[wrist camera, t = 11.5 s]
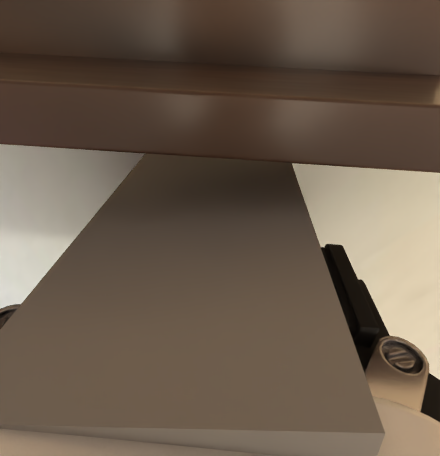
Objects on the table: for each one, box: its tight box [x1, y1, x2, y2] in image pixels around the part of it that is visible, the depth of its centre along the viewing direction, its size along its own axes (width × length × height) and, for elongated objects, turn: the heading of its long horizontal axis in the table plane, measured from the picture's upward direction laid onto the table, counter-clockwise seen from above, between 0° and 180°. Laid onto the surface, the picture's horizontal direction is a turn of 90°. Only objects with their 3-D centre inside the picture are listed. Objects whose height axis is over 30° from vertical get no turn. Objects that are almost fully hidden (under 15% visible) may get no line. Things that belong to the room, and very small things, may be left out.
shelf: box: [0, 0, 440, 173], centre depth 10 cm, size 5×24×8 cm, turn 88°
